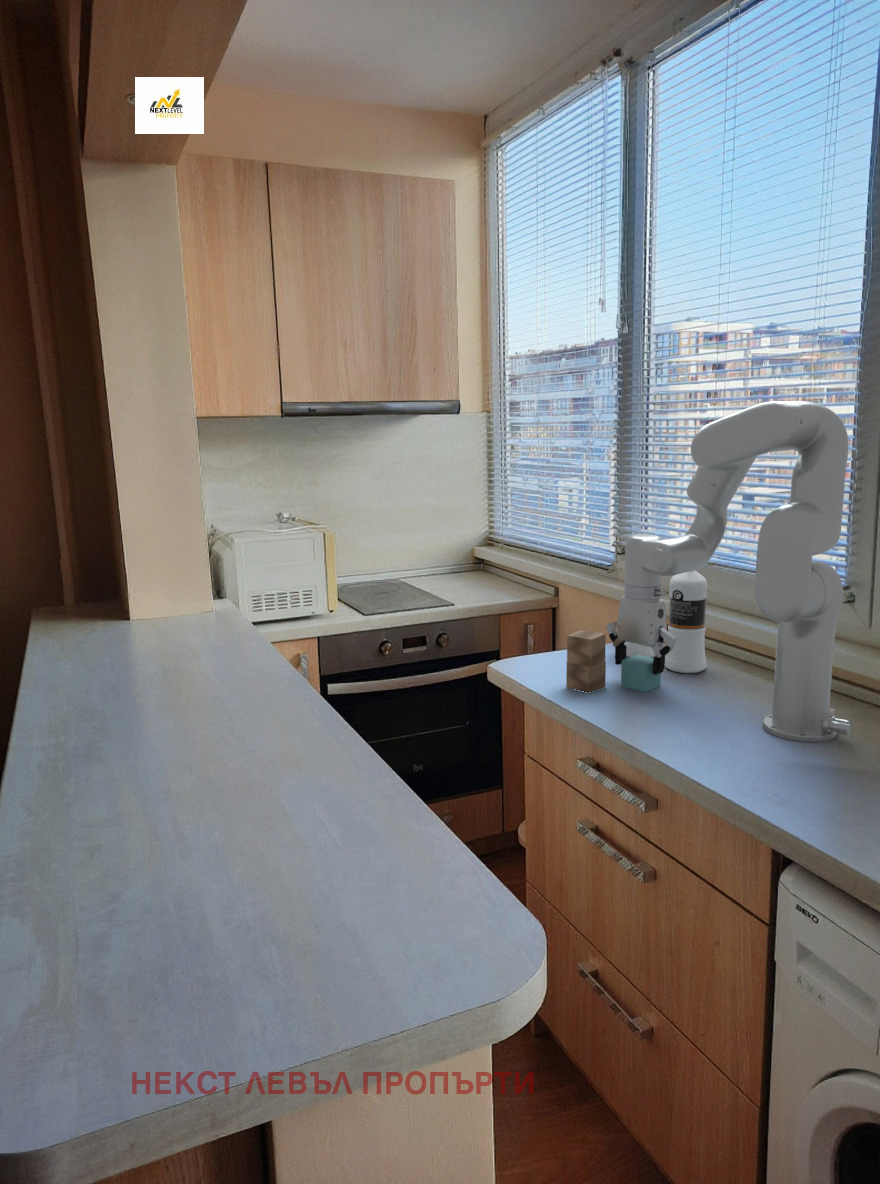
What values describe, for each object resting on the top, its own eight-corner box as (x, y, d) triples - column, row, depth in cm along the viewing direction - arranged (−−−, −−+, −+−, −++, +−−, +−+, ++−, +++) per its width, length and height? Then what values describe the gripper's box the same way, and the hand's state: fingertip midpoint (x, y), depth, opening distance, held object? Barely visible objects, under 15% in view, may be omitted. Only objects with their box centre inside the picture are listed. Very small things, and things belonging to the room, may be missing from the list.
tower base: (605, 687, 178) (605, 661, 177) (588, 693, 174) (588, 666, 173) (583, 681, 183) (583, 655, 181) (566, 687, 179) (566, 661, 178)
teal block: (660, 686, 178) (661, 660, 177) (644, 692, 174) (645, 665, 173) (636, 680, 183) (637, 654, 181) (621, 686, 179) (621, 660, 178)
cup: (662, 660, 197) (663, 612, 195) (624, 660, 197) (625, 612, 195) (653, 650, 206) (654, 604, 204) (617, 650, 206) (618, 604, 204)
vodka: (714, 670, 188) (720, 541, 182) (685, 676, 184) (689, 545, 178) (685, 660, 196) (689, 537, 190) (656, 666, 192) (660, 540, 186)
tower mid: (605, 660, 178) (605, 633, 176) (591, 666, 173) (591, 639, 172) (581, 655, 181) (581, 629, 180) (567, 662, 177) (567, 635, 176)
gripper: (687, 595, 171) (683, 673, 174) (619, 583, 183) (616, 656, 187) (667, 601, 166) (663, 681, 169) (598, 588, 178) (596, 663, 182)
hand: (638, 668), depth 178 cm, fingers open, 9 cm apart
